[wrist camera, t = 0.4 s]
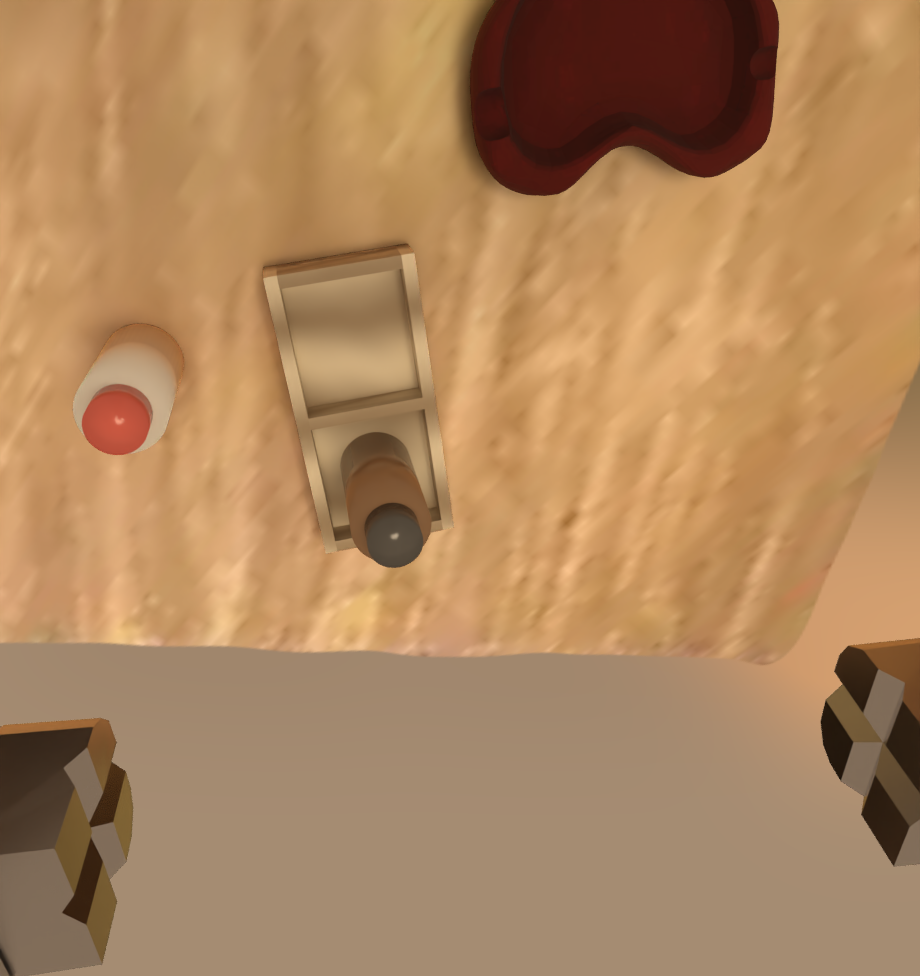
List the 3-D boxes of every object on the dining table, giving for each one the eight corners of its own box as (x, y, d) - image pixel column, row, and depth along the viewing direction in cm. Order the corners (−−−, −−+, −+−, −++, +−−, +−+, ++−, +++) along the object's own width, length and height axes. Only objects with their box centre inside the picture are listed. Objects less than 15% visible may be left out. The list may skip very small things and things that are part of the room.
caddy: (263, 267, 53) (262, 277, 50) (407, 243, 54) (414, 252, 51) (323, 532, 61) (325, 553, 59) (446, 508, 62) (454, 527, 60)
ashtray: (756, -143, 48) (804, -164, 44) (736, 164, 56) (776, 172, 51) (445, -125, 46) (463, -145, 42) (467, 193, 53) (485, 205, 49)
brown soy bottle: (334, 439, 57) (346, 515, 48) (404, 426, 58) (430, 498, 48) (347, 502, 60) (361, 587, 50) (415, 488, 60) (442, 569, 50)
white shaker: (92, 331, 52) (51, 391, 43) (172, 317, 53) (149, 373, 43) (116, 403, 55) (82, 476, 45) (192, 390, 55) (175, 459, 45)
